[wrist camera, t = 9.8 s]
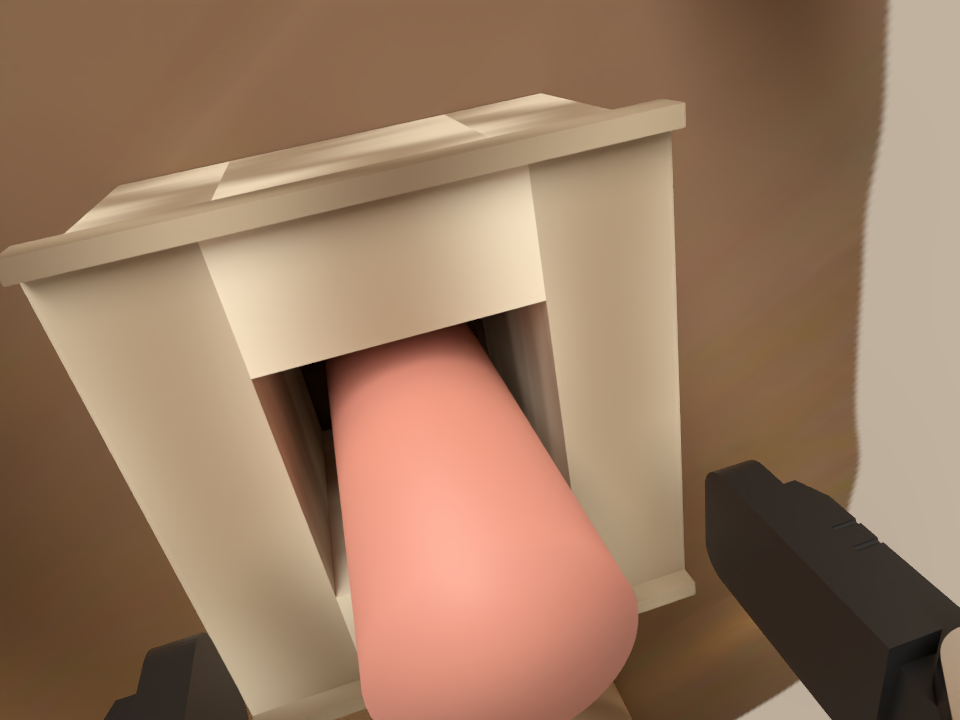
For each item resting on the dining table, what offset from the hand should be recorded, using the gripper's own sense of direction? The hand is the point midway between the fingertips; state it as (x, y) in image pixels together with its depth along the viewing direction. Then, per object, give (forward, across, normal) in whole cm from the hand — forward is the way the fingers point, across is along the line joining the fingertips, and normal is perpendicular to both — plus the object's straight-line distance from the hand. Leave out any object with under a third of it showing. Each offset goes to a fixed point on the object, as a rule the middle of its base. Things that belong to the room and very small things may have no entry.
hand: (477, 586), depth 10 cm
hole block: (+11, 0, 0) cm, 11 cm away
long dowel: (+11, 0, 0) cm, 11 cm away
